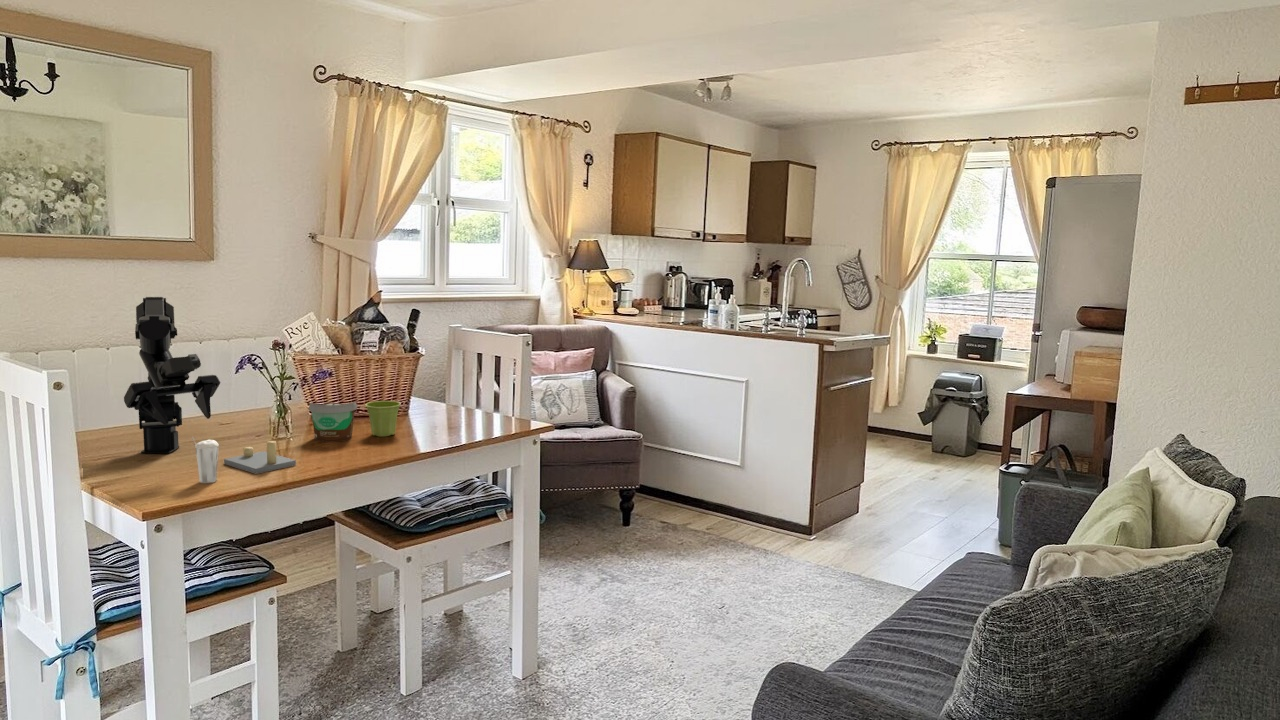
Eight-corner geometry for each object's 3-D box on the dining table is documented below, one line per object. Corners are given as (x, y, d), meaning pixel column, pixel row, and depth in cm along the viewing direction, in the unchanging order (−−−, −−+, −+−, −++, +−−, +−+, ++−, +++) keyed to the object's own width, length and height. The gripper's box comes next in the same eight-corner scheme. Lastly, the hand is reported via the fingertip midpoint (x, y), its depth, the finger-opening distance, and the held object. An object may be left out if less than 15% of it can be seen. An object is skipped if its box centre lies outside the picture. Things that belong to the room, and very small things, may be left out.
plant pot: (365, 439, 223) (365, 407, 222) (365, 431, 232) (365, 401, 231) (401, 437, 226) (401, 406, 225) (400, 430, 235) (400, 400, 234)
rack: (224, 463, 194) (223, 438, 193) (263, 455, 202) (263, 431, 201) (256, 473, 187) (255, 447, 186) (295, 465, 195) (295, 439, 194)
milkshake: (198, 478, 182) (196, 433, 180) (223, 478, 182) (222, 434, 181) (188, 484, 177) (187, 438, 176) (214, 484, 177) (213, 439, 176)
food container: (306, 443, 216) (305, 405, 214) (309, 438, 222) (308, 401, 220) (356, 442, 219) (355, 405, 218) (357, 437, 225) (357, 400, 224)
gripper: (127, 345, 174) (156, 404, 170) (214, 339, 190) (243, 393, 185) (111, 378, 180) (139, 435, 175) (197, 370, 195) (224, 422, 190)
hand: (188, 420), depth 181 cm, fingers open, 9 cm apart
